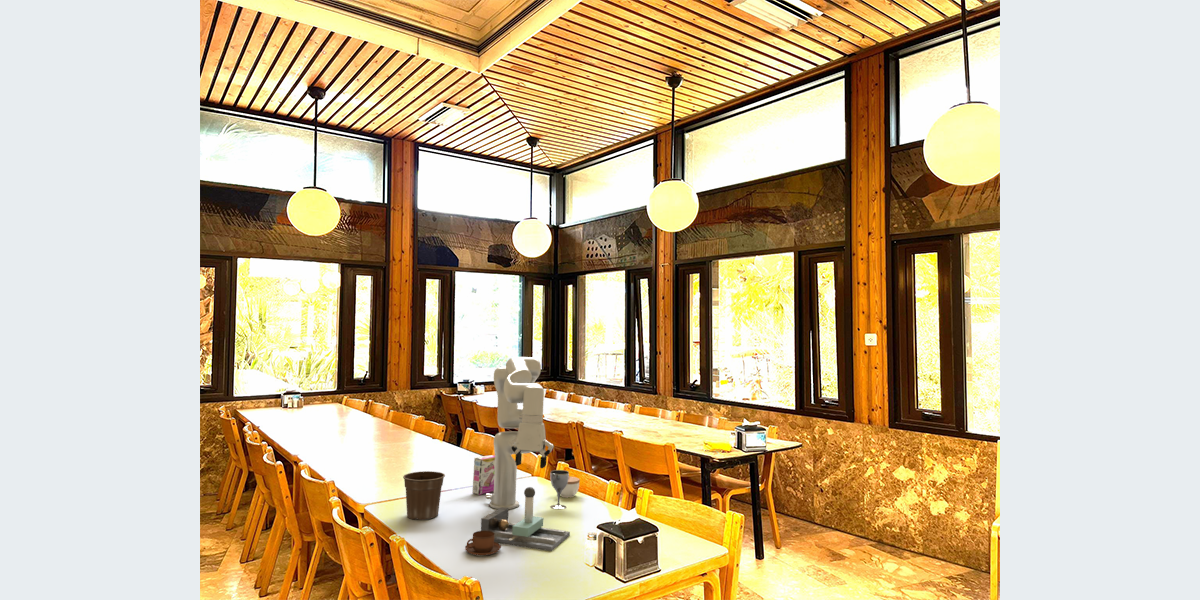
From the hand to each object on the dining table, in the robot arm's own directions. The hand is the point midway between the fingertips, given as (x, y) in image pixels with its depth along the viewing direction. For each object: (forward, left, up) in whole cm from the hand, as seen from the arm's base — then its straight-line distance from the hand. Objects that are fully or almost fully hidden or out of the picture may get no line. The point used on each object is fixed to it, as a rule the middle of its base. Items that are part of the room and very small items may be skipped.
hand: (530, 466), depth 229 cm
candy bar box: (-45, +51, -26) cm, 73 cm away
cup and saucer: (-8, -19, -27) cm, 33 cm away
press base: (-1, 0, -26) cm, 26 cm away
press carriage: (0, 0, -23) cm, 23 cm away
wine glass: (-5, +43, -26) cm, 51 cm away
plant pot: (-50, +8, -26) cm, 57 cm away
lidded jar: (-8, +62, -26) cm, 68 cm away
